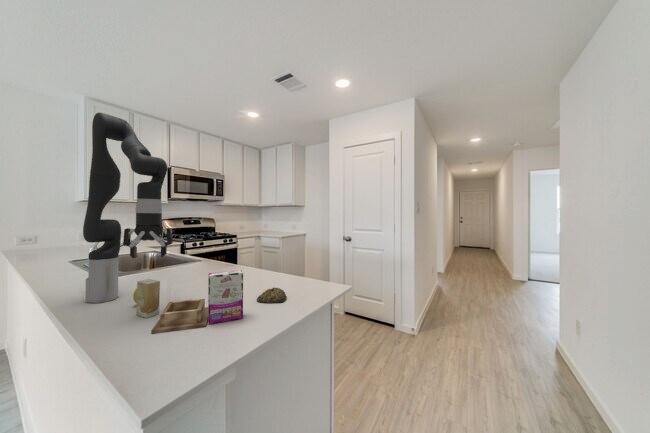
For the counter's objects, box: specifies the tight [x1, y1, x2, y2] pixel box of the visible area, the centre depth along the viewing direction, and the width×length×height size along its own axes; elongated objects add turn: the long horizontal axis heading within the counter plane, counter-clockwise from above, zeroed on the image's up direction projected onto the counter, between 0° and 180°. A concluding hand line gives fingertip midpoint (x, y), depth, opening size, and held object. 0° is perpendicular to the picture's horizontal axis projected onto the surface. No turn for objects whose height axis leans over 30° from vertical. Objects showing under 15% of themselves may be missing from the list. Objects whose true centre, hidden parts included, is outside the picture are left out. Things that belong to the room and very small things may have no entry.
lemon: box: [132, 288, 137, 304], centre depth 96 cm, size 6×6×8 cm
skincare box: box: [135, 278, 161, 319], centre depth 87 cm, size 6×4×12 cm
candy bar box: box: [207, 269, 244, 325], centre depth 85 cm, size 11×5×16 cm, turn 117°
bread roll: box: [256, 287, 288, 304], centre depth 107 cm, size 13×12×5 cm
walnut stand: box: [150, 298, 208, 335], centre depth 83 cm, size 15×15×5 cm
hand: (148, 257), depth 87 cm, fingers open, 8 cm apart
